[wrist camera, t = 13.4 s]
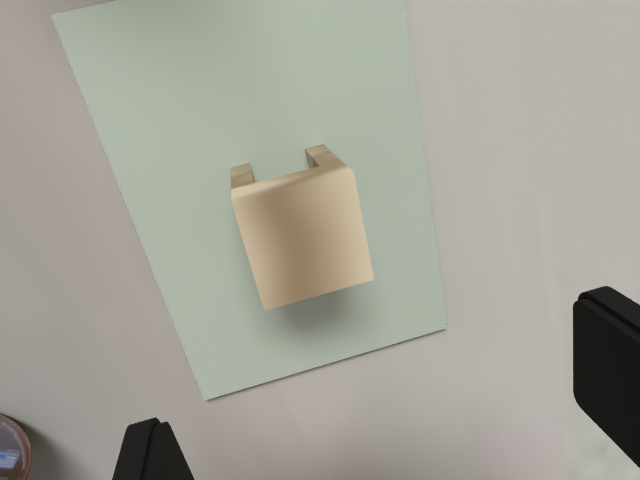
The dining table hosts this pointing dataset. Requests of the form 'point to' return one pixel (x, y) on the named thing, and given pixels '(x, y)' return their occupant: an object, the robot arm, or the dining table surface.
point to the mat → (262, 165)
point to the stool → (302, 229)
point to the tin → (14, 451)
